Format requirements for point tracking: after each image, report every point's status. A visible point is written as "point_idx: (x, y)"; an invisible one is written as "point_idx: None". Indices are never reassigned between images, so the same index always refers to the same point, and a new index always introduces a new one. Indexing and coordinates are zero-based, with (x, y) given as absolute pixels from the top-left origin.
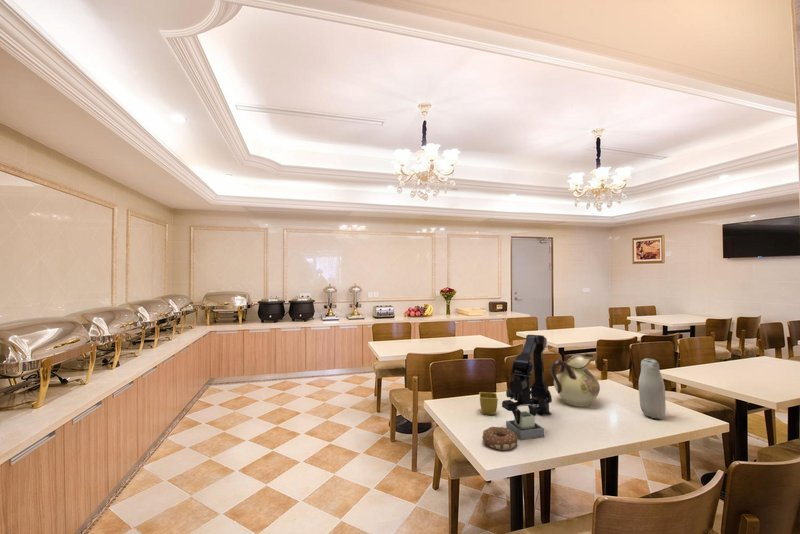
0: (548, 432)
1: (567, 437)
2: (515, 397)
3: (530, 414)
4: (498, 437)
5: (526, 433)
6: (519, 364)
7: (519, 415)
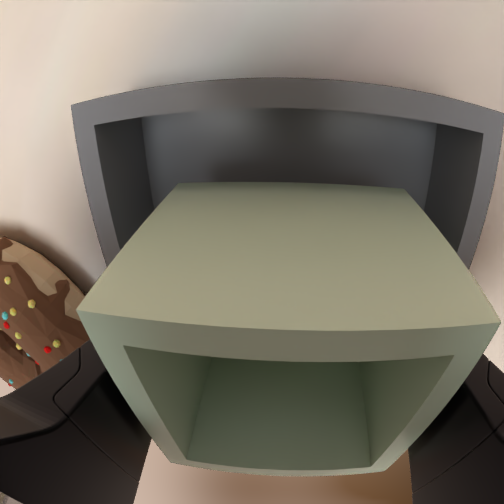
0: (486, 282)
1: (495, 356)
2: None
3: (390, 448)
4: (12, 384)
5: None
6: None
7: (129, 467)
